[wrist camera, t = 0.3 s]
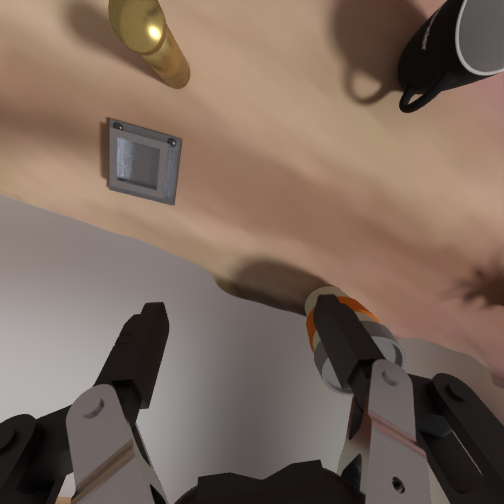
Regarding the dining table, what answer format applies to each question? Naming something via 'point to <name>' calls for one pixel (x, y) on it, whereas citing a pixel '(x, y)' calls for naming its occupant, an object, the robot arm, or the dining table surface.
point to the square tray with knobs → (143, 162)
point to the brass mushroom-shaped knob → (150, 38)
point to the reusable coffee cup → (371, 324)
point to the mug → (452, 50)
